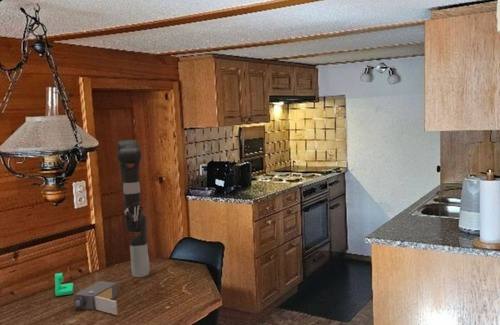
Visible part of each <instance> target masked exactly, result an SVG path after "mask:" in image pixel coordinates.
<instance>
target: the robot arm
mask: <svg viewBox="0 0 500 325" xmlns="http://www.w3.org/2000/svg"><path fill="white" fill-rule="evenodd" d="M116 152H117V157H116V158H117V161H118V163H119V169H120V170H119V171H120V181H121V188H122V198H123V206H124V211H122V214H123V216H124V219H125V220H124V223H125V230H126V231H127V232H128V233H139V234H138V235H136V236H134V237H131V239H129V252H130V268H131V276H132V277H133V278H143V277H146V276H149V274H150V270H151V269H150V256H149V253H148V251H149V250H148V237H147V217H146V215H145V214H142V212H143V209H144V207H143V206H141V205H140V202H142V201H141V200H142V194H141V186H140V184H141V183H140V175H139V171H140V166H141V160H142V151H141V150H140V144H139V141H138V140H136V139H126V140H125V139H124V140H119V141H117V143H116ZM130 164H133V166H131V167H129V165H130Z"/></svg>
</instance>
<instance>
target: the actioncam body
mask: <svg viewBox="0 0 500 325" xmlns="http://www.w3.org/2000/svg"><path fill="white" fill-rule="evenodd" d="M118 294H119V293H118V283H117V282H111V281H102V280H99V281H97V282H95V283H93V284H91V285H89V286H88V287H86V288H84V289H82V290H80V291H78V292H76V293H74V299H73V305H74V306H75V308H76V309H80V308H83V309H82V310H88V309H92V310H91V311H95V310H94V309H95V304H94V296H98V297H102V298H106V299H110V300H111V299H112V298H113V299H115V298H117V297H118ZM116 296H117V297H116ZM114 297H115V298H114ZM113 299H112V300H113Z"/></svg>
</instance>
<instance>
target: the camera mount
mask: <svg viewBox="0 0 500 325" xmlns="http://www.w3.org/2000/svg"><path fill="white" fill-rule="evenodd" d="M63 281H64V274H63V272H58V273H55V274H54V283H55V284H54V288H55V291H54V292H55V293H54V294H55V296H56V297H59V296H65V295H72V294H73V293H74V283H73V282H70V283H63ZM62 283H63V284H62Z"/></svg>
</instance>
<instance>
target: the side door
mask: <svg viewBox="0 0 500 325" xmlns="http://www.w3.org/2000/svg"><path fill="white" fill-rule="evenodd" d="M117 302H118V301H117V300H113V299H112V300H110V299H106V298H102V297H98V296H94V304H95V310H94V311H96V310H97V311H99V312H104V313H108V314H110V313H111V315H114V316H117V315H118V306H117V305H118V303H117Z"/></svg>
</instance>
